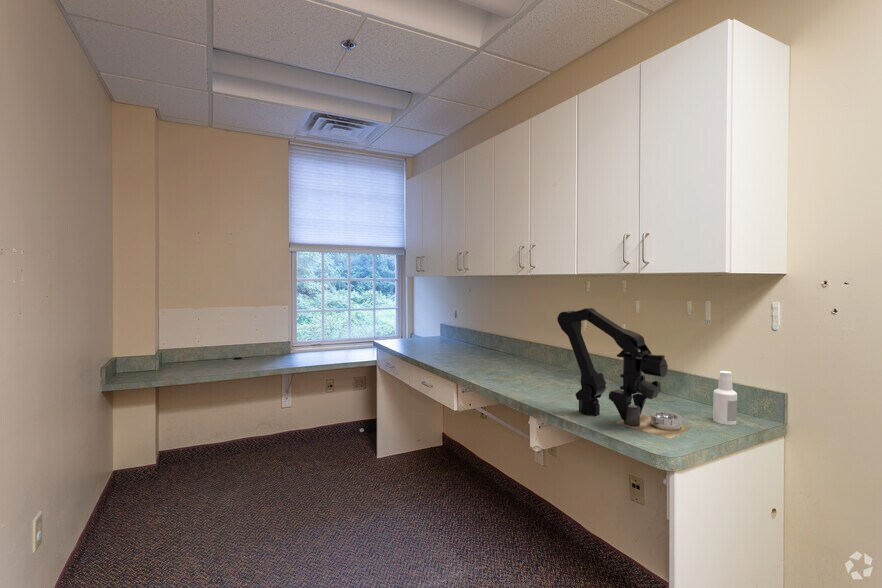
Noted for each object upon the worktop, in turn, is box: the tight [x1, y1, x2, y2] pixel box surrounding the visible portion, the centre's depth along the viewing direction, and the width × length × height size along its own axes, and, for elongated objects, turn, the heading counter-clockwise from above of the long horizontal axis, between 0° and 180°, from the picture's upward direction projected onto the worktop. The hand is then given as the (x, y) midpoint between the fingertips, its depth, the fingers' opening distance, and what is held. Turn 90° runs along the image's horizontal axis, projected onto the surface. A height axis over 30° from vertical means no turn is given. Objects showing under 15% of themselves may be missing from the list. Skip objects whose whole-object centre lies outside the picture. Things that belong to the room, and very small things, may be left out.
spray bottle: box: [712, 370, 738, 426], centre depth 148 cm, size 7×7×18 cm
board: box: [616, 413, 692, 440], centre depth 145 cm, size 18×15×1 cm
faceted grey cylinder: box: [650, 410, 683, 431], centre depth 144 cm, size 9×9×4 cm
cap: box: [624, 403, 640, 428], centre depth 146 cm, size 5×5×6 cm
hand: (631, 417), depth 146 cm, fingers open, 9 cm apart
